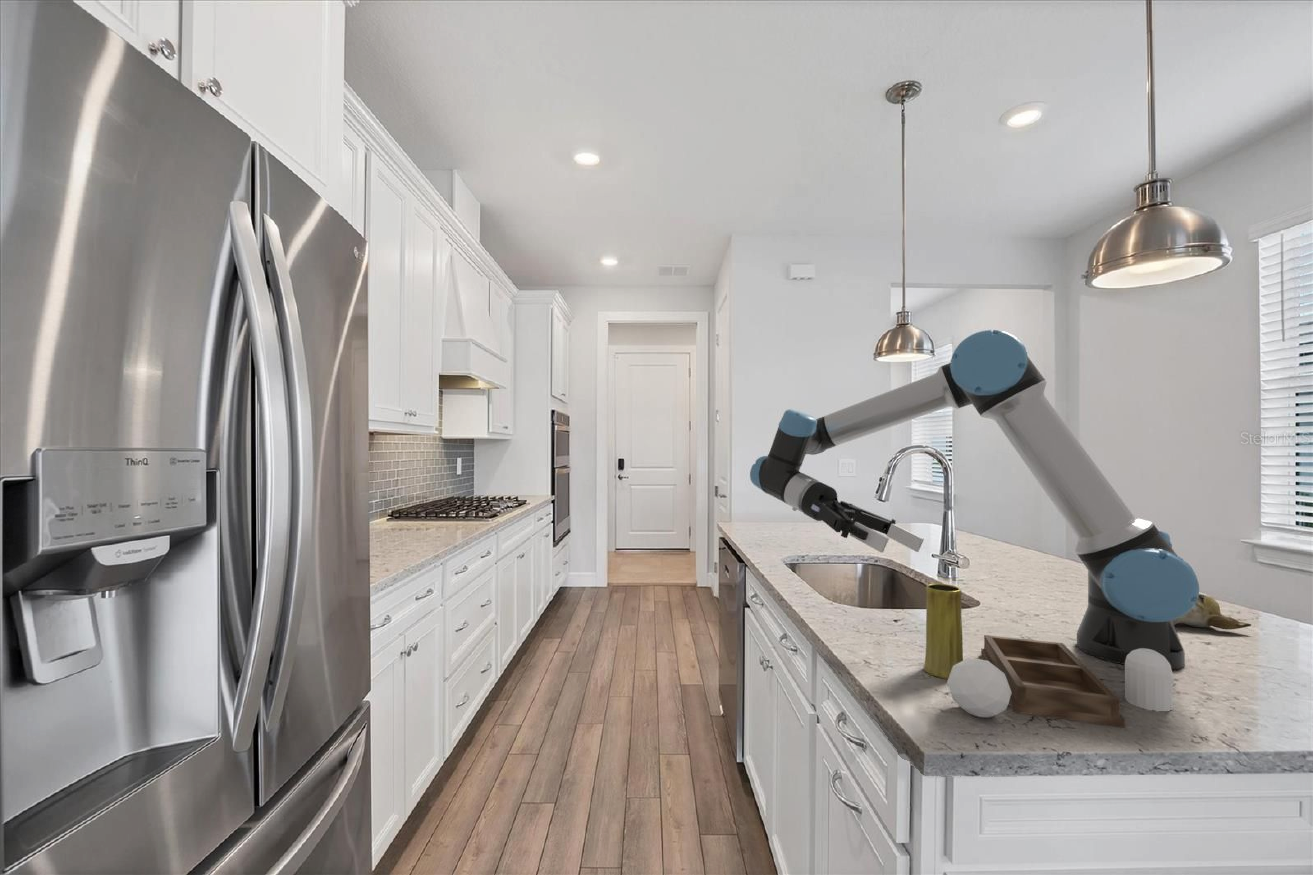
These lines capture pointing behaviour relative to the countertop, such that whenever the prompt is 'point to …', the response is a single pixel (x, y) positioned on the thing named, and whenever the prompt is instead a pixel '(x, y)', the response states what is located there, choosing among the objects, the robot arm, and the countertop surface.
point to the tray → (1051, 681)
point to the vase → (943, 629)
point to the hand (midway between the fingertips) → (903, 545)
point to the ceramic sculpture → (1208, 615)
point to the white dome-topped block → (1148, 680)
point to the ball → (979, 687)
